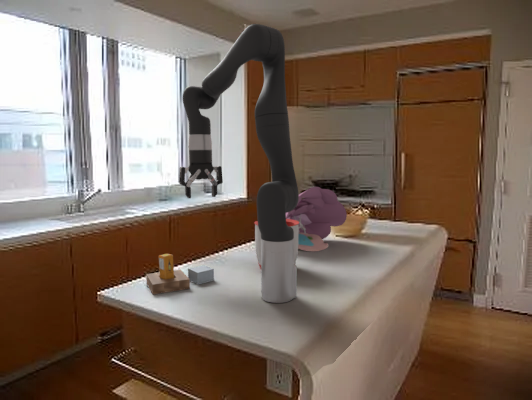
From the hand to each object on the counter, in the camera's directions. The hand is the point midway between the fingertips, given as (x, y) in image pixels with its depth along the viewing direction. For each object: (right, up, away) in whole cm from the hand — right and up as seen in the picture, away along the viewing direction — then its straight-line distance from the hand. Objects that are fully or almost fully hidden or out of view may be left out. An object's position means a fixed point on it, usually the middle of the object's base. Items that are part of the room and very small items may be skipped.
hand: (201, 197), depth 136 cm
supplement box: (-9, -28, -10) cm, 31 cm away
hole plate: (-9, -28, -10) cm, 31 cm away
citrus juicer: (+25, -25, +7) cm, 36 cm away
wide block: (0, -27, -4) cm, 27 cm away
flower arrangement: (+39, -21, +41) cm, 60 cm away
